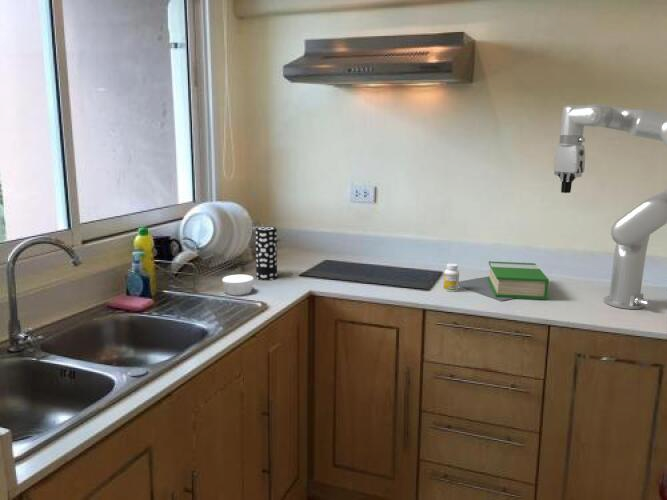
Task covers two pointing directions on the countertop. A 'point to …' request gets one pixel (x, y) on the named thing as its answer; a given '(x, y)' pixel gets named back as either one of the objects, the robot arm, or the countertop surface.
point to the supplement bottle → (451, 278)
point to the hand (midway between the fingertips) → (565, 192)
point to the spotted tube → (266, 253)
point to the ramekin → (238, 284)
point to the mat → (481, 287)
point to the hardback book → (518, 280)
